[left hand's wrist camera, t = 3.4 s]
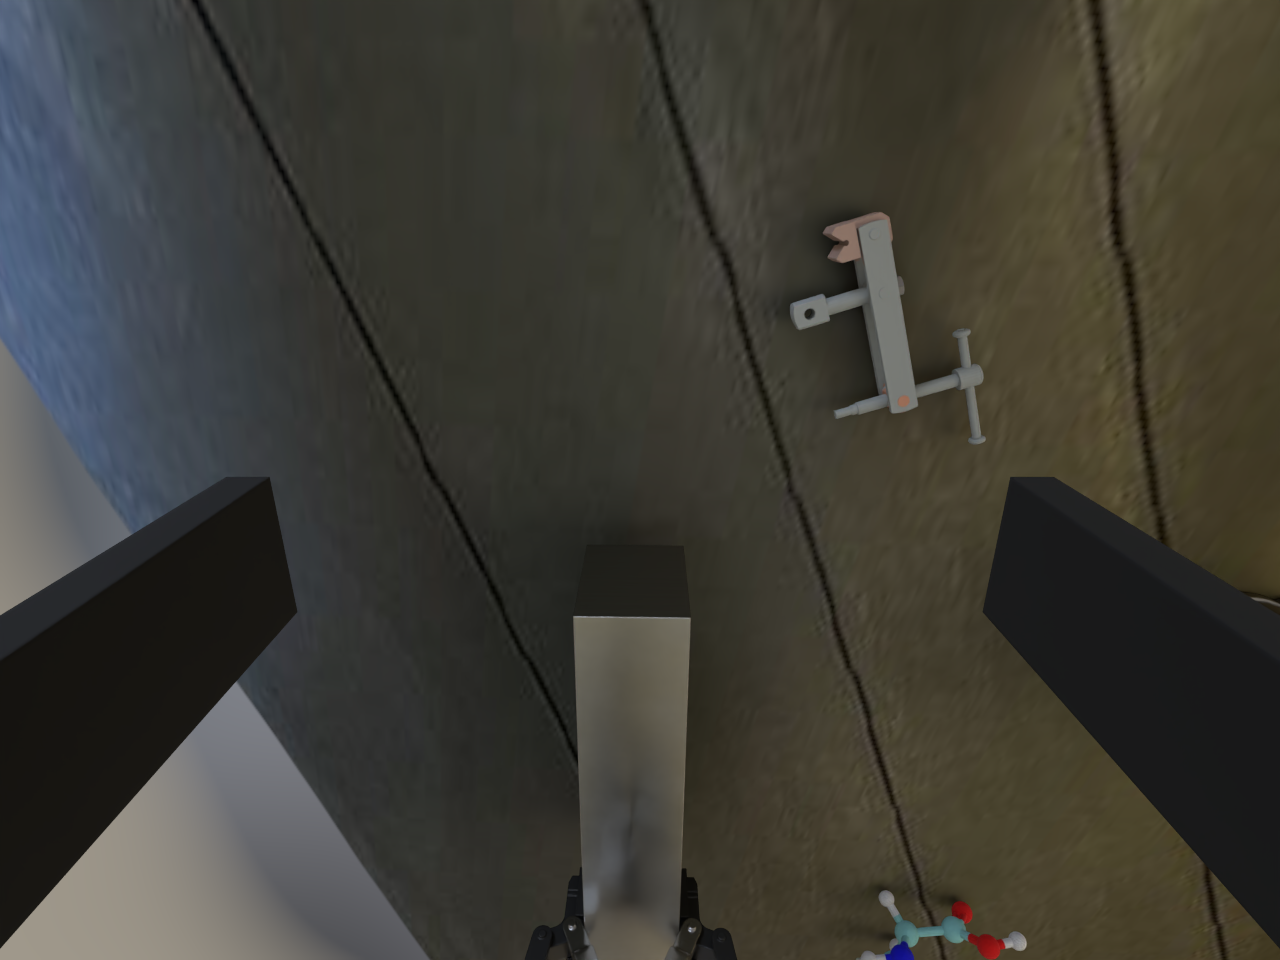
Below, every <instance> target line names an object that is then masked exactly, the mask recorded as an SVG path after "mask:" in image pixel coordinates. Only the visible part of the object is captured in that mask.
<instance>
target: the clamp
mask: <svg viewBox="0 0 1280 960" xmlns="http://www.w3.org/2000/svg"><path fill="white" fill-rule="evenodd" d="M823 234H824V235H825V236H827V237H829V238H830V239H832V240H834V241H839V244H838V245H834V247H833V249H832V250H831V252H830V254H829V255H828V259H830V260H832V261H835V262H839V263H844V262H848V261H851V260H854V265H855V270H856V275H857V281H858V286H859V289H856V290H852V291H849V292H846V293H843V294H839V295H836V296H833V297H830V298H825V296H824V295H823V294H820V295H817V296H813V297H810V298H807V299H804V300H800V301H797V302H794V303H792V304H791V305H790V315H791V319H792V322H793V324H794V326H795V327H796V328H797V329H798V330H802V329H806V328H809V327H812V326H815V325H819V324H822V323H825V322H828V321H830V318H829V315H832V314H835V313H839V312H842V311H845V310H849V309H852V308H855V307H858V306H862V308H863V313H864V318H865V324H866V329H867V335H868V340H869V345H870V351H871V356H872V361H873V367H874V372H875V378H876V383H877V388H878V394H879V396H876V397H872V398H869V399H866V400H862V401H859V402H855V404H853V405H850V406H849V407H846V408H842V409H839V410H835V411H834V415H835V418H836V419H838V418H841V417H845V416H848V415H855V414H863V413H866V412H870V411H873V410H877V409H880V408H884V407H888V408H889V410H890V412H891V413H902V412H905V411H908V410H910V409H913V408H915V407H917V406H918V402H917V398H919V397H922V396H925V395H929V394H932V393H936V392H939V391H943V390H946V389H950V388H953V387H955V388H956V389H957V390H962V389H965V394H966V400H967V407H968V414H969V421H970V428H971V434H972V437H970V438H969V439H968V441H969V443H970V444H981V443H983V442H985V440H986V438H985V436H983V435H981V431H980V424H979V417H978V410H977V403H976V396H975V389H974V386H976V385H979V384H981V383H982V381H983V371H982V369H981V367H980V366H979V365H977V364H975V363H974V364H971V361H970V354H969V347H968V340H967V336H968V335H969V334H970V333H971V331H970V329H964V328H961V329H958V330H956V331H954V332H953V334H952V335H953V337H955V338H957V339H958V346H959V353H960V360H961V367H960V368H957V369H954V370H952V375H948V376H945V377H941V378H938V379H935V380H931V381H928V382H924V383H921V384H917V385H915V384H914V378H913V372H912V366H911V360H910V354H909V348H908V342H907V336H906V330H905V324H904V317H903V311H902V305H901V299H900V295H903V294H904V283H903V280H902V278H901V276H899V275H896V269H895V263H894V257H893V251H892V245H891V241H892V240H893V236H892V230H891V224H890V218H889V217H888V216H887V215H885V214H883V213H882V212H873V213H870V214H867V215H864V216H861V217H858V218H854V219H851V220H848V221H843V222H840V223H837V224H834V225H831V226H828V227H826V228H825V230H824V232H823ZM809 308H811V315H810V316H809V317H806V318H805V316H804V313H805V311H806V310H807V309H809Z"/></svg>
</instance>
